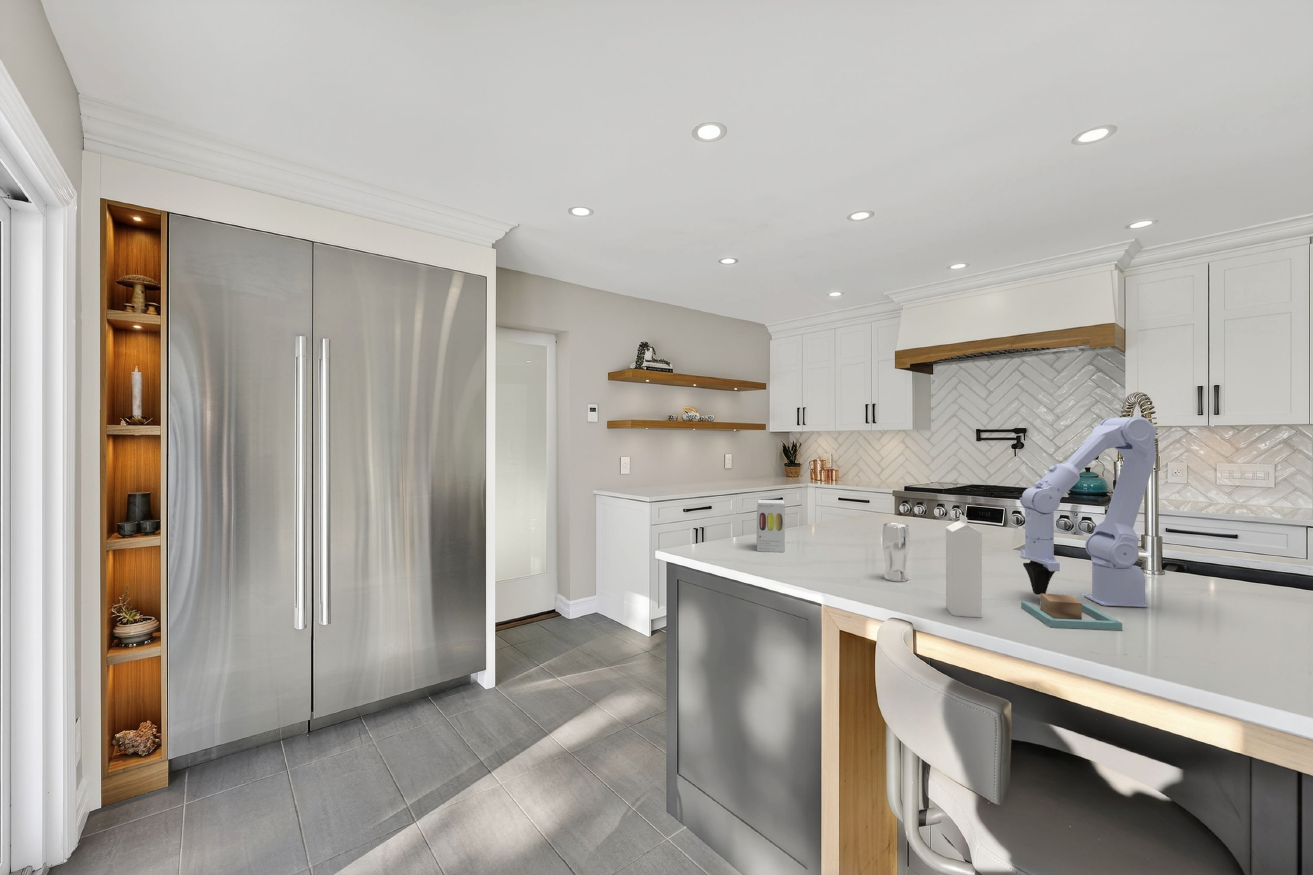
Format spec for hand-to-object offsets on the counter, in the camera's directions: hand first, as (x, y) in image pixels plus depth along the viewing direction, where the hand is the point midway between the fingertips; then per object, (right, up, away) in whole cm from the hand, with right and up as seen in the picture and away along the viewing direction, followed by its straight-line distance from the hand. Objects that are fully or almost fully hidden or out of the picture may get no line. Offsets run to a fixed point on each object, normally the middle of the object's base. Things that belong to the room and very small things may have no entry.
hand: (1039, 593), depth 138 cm
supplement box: (-53, -1, +61) cm, 80 cm away
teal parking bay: (-2, -2, -13) cm, 13 cm away
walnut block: (-2, -2, -11) cm, 11 cm away
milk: (-23, -2, -8) cm, 24 cm away
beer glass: (-26, -2, +21) cm, 33 cm away
